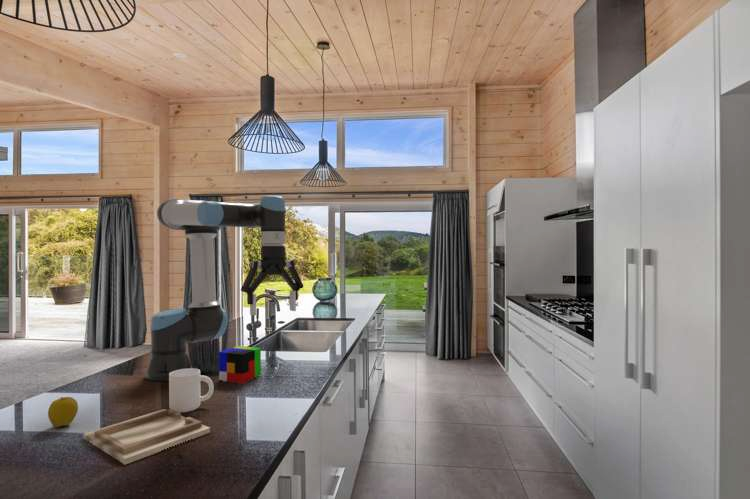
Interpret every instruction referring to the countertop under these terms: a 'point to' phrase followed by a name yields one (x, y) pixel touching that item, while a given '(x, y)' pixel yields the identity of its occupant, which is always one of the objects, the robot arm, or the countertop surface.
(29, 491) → the countertop surface
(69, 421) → the apple
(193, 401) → the mug
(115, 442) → the board
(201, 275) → the robot arm
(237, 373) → the puzzle toy
